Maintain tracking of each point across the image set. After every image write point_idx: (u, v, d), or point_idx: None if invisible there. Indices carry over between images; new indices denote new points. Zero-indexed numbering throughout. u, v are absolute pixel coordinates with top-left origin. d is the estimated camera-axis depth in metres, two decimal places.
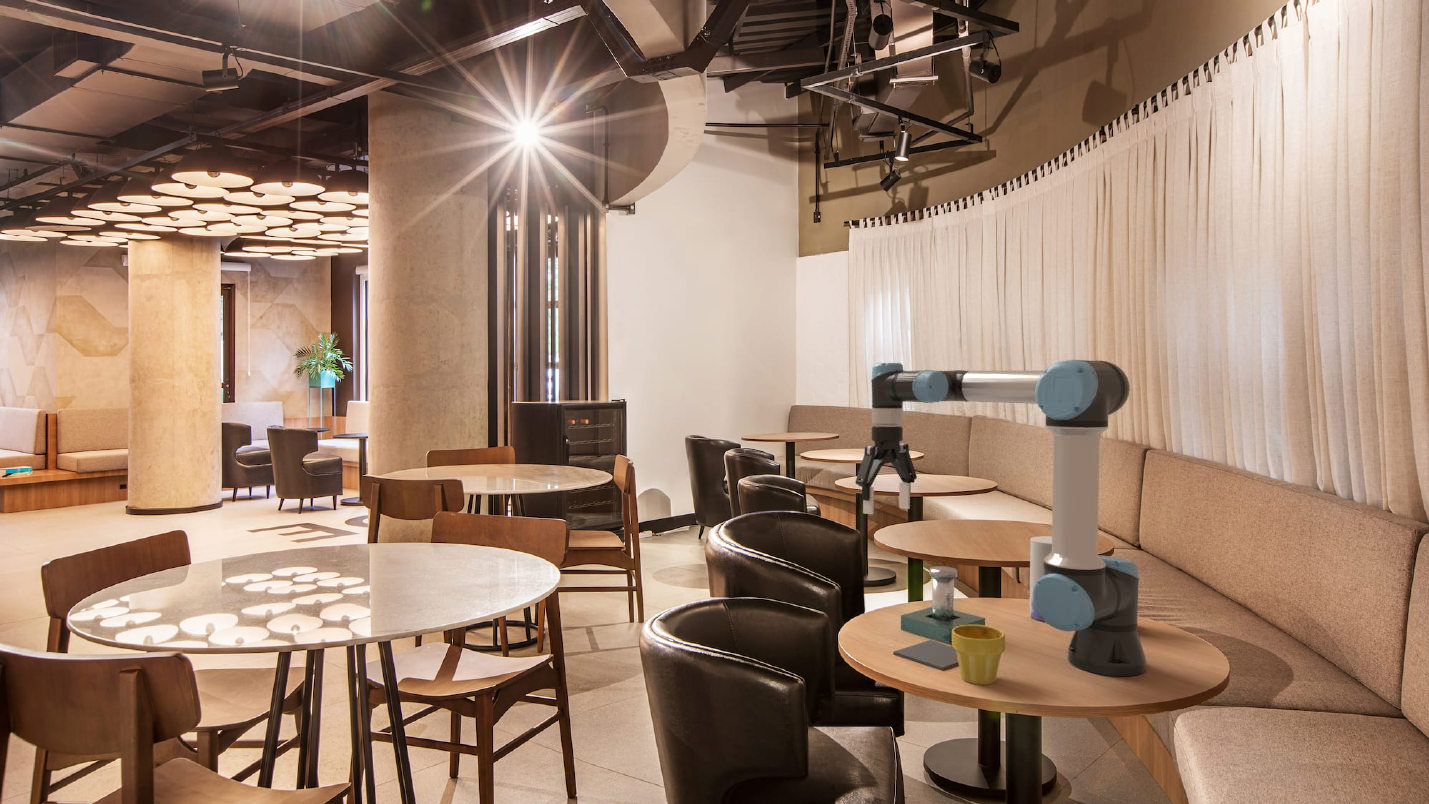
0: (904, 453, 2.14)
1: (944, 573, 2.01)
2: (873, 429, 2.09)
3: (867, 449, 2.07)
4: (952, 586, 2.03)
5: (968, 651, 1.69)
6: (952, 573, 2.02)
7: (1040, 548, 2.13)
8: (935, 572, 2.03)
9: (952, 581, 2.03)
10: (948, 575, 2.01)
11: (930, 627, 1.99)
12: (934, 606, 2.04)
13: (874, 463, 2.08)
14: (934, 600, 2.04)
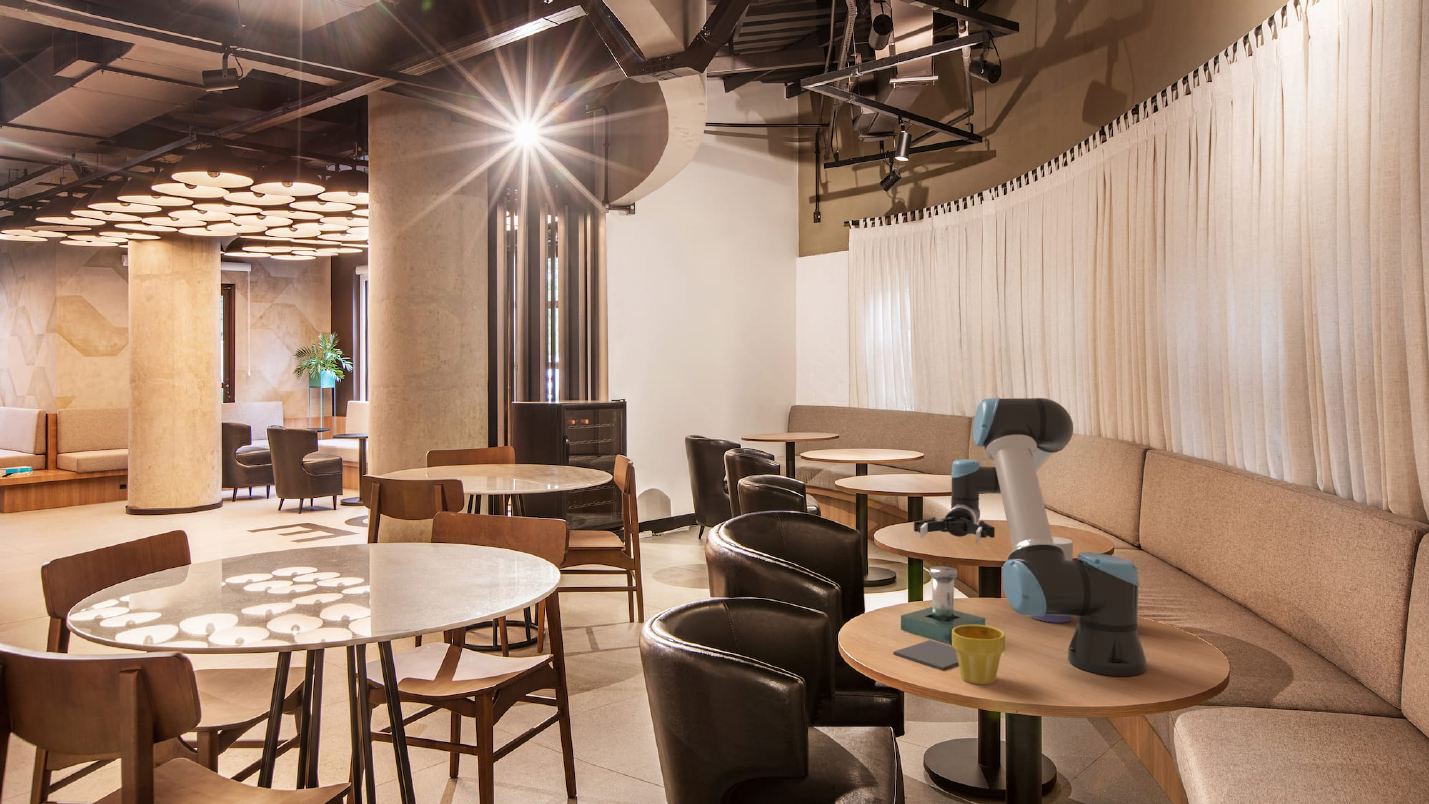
0: (979, 524, 2.24)
1: (944, 573, 2.01)
2: None
3: None
4: (952, 586, 2.03)
5: (968, 651, 1.69)
6: (952, 573, 2.02)
7: None
8: (935, 572, 2.03)
9: (952, 581, 2.03)
10: (948, 575, 2.01)
11: (930, 627, 1.99)
12: (934, 606, 2.04)
13: None
14: (934, 600, 2.04)
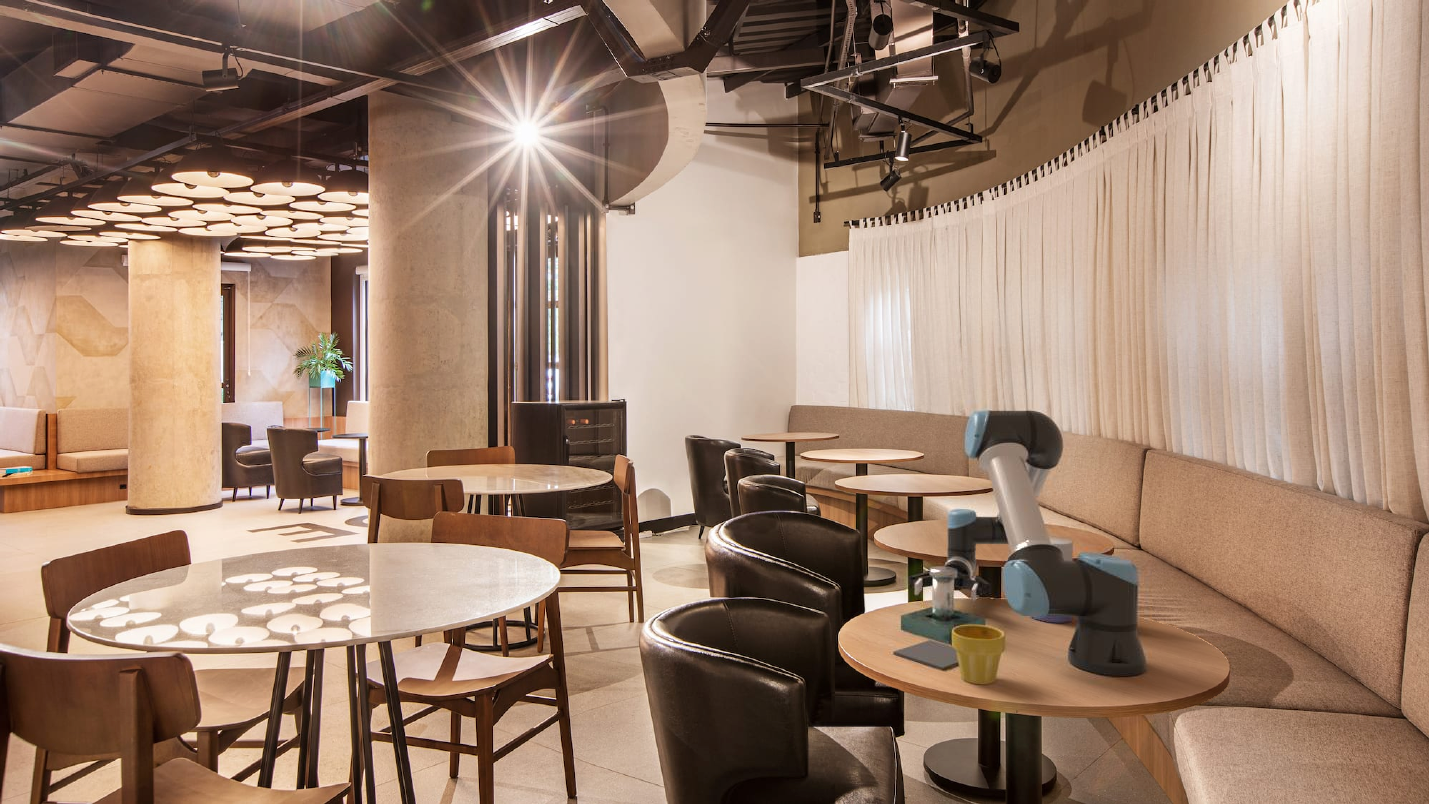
0: (975, 579, 2.19)
1: (944, 573, 2.01)
2: None
3: None
4: (952, 586, 2.03)
5: (968, 651, 1.69)
6: (952, 573, 2.02)
7: None
8: (935, 572, 2.03)
9: (952, 581, 2.03)
10: (948, 575, 2.01)
11: (930, 627, 1.99)
12: (934, 606, 2.04)
13: None
14: (934, 600, 2.04)
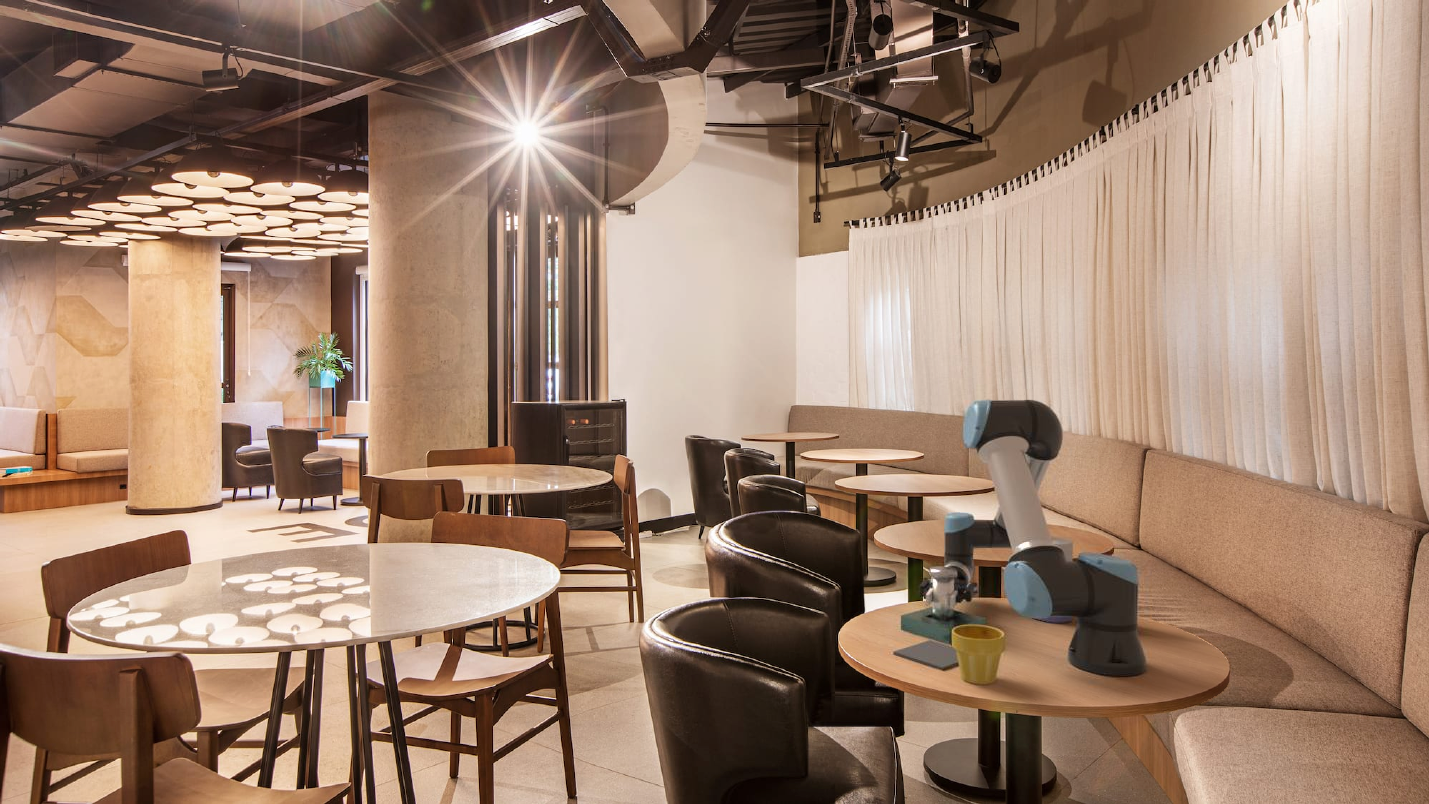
0: None
1: (944, 573, 2.01)
2: None
3: None
4: (952, 586, 2.03)
5: (968, 651, 1.69)
6: (952, 573, 2.02)
7: None
8: (935, 572, 2.02)
9: (952, 581, 2.03)
10: (948, 575, 2.01)
11: (930, 627, 1.99)
12: (934, 606, 2.04)
13: None
14: (934, 599, 2.04)
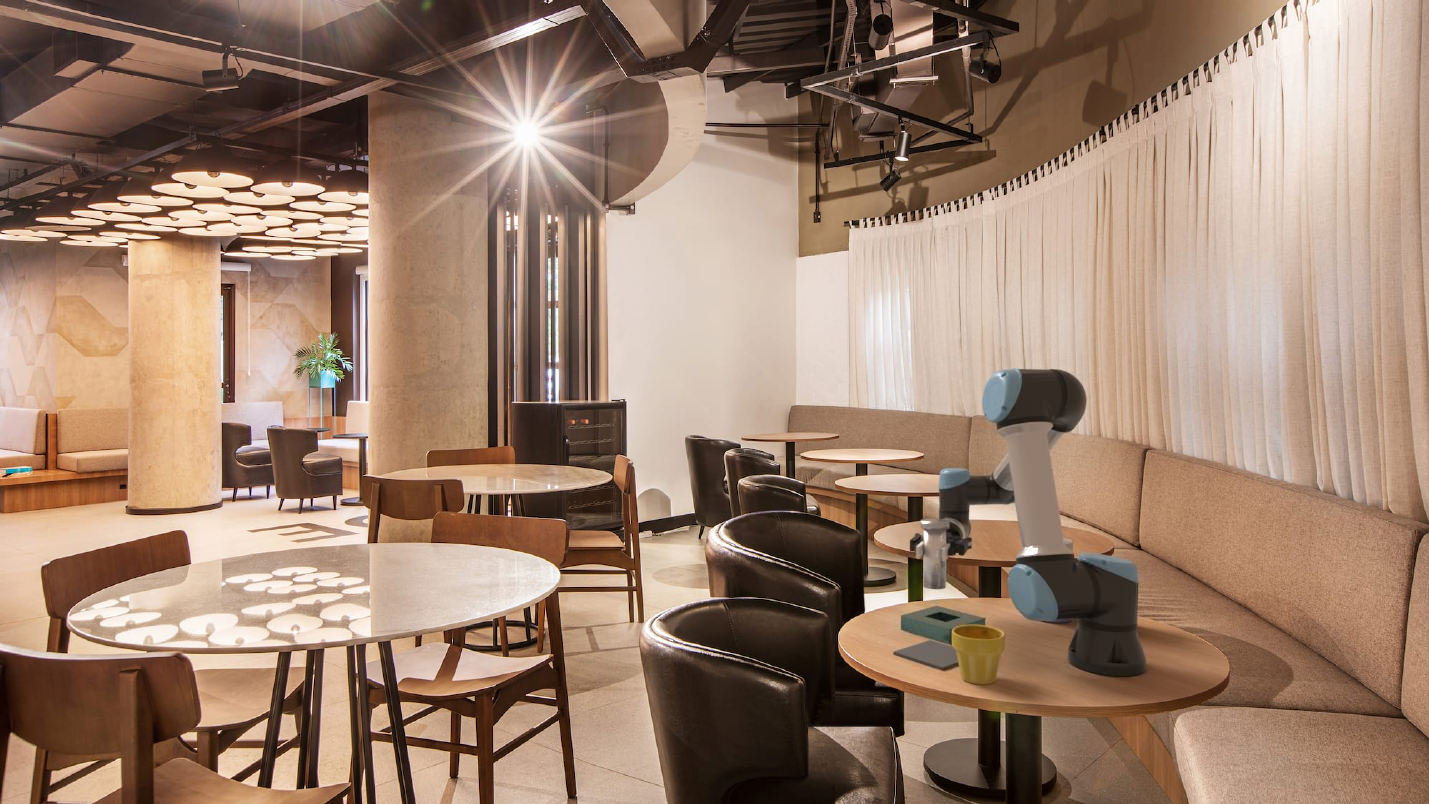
0: None
1: (935, 524, 1.91)
2: None
3: None
4: (944, 538, 1.92)
5: (968, 651, 1.69)
6: (944, 524, 1.91)
7: None
8: (926, 523, 1.92)
9: (944, 533, 1.92)
10: (940, 526, 1.91)
11: (930, 627, 1.99)
12: (925, 560, 1.93)
13: None
14: (925, 553, 1.93)
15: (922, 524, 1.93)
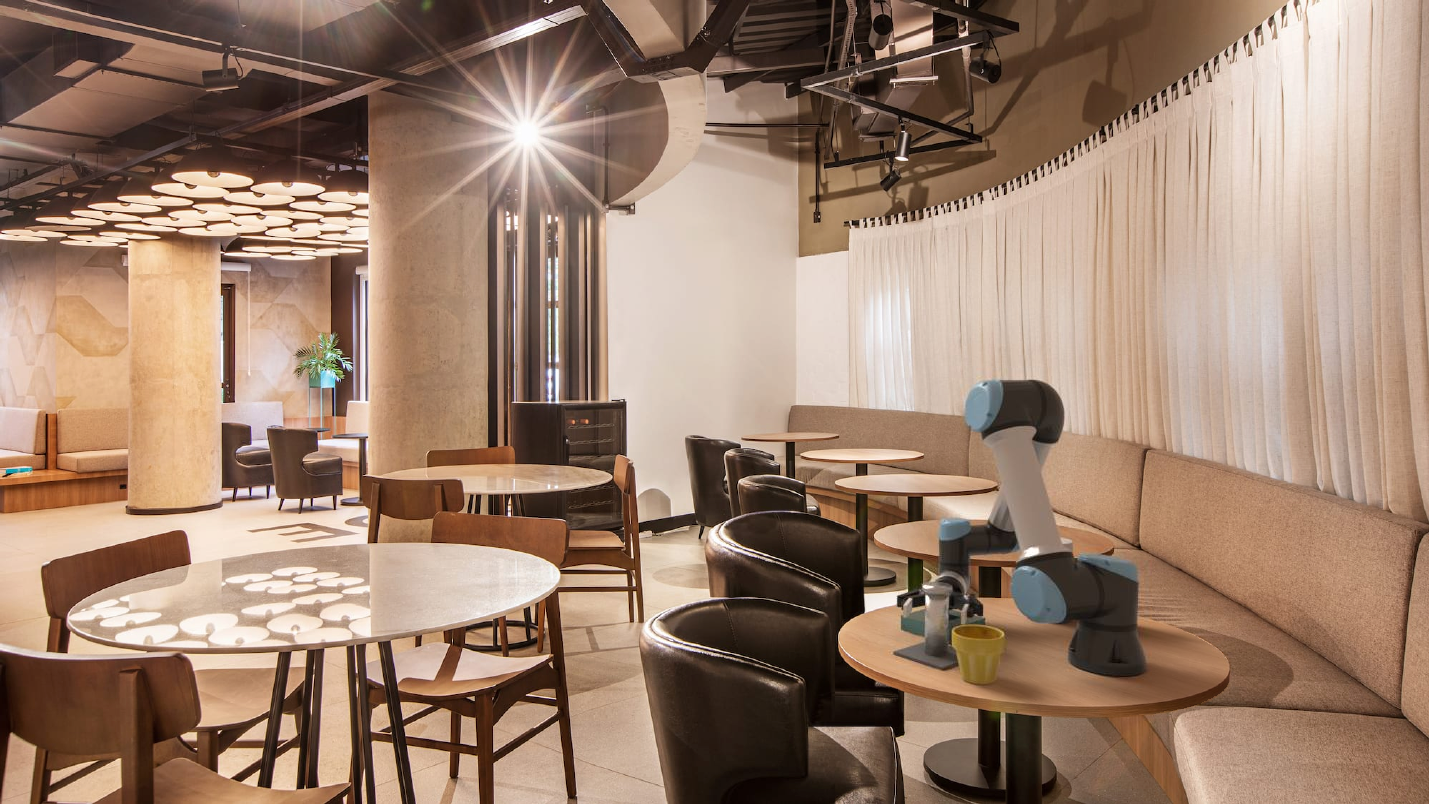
0: (969, 598, 1.94)
1: (938, 590, 1.84)
2: None
3: None
4: (947, 604, 1.85)
5: (968, 651, 1.69)
6: (947, 590, 1.84)
7: None
8: (928, 589, 1.85)
9: (947, 598, 1.85)
10: (943, 592, 1.84)
11: None
12: (927, 626, 1.86)
13: None
14: (927, 619, 1.86)
15: (924, 589, 1.86)
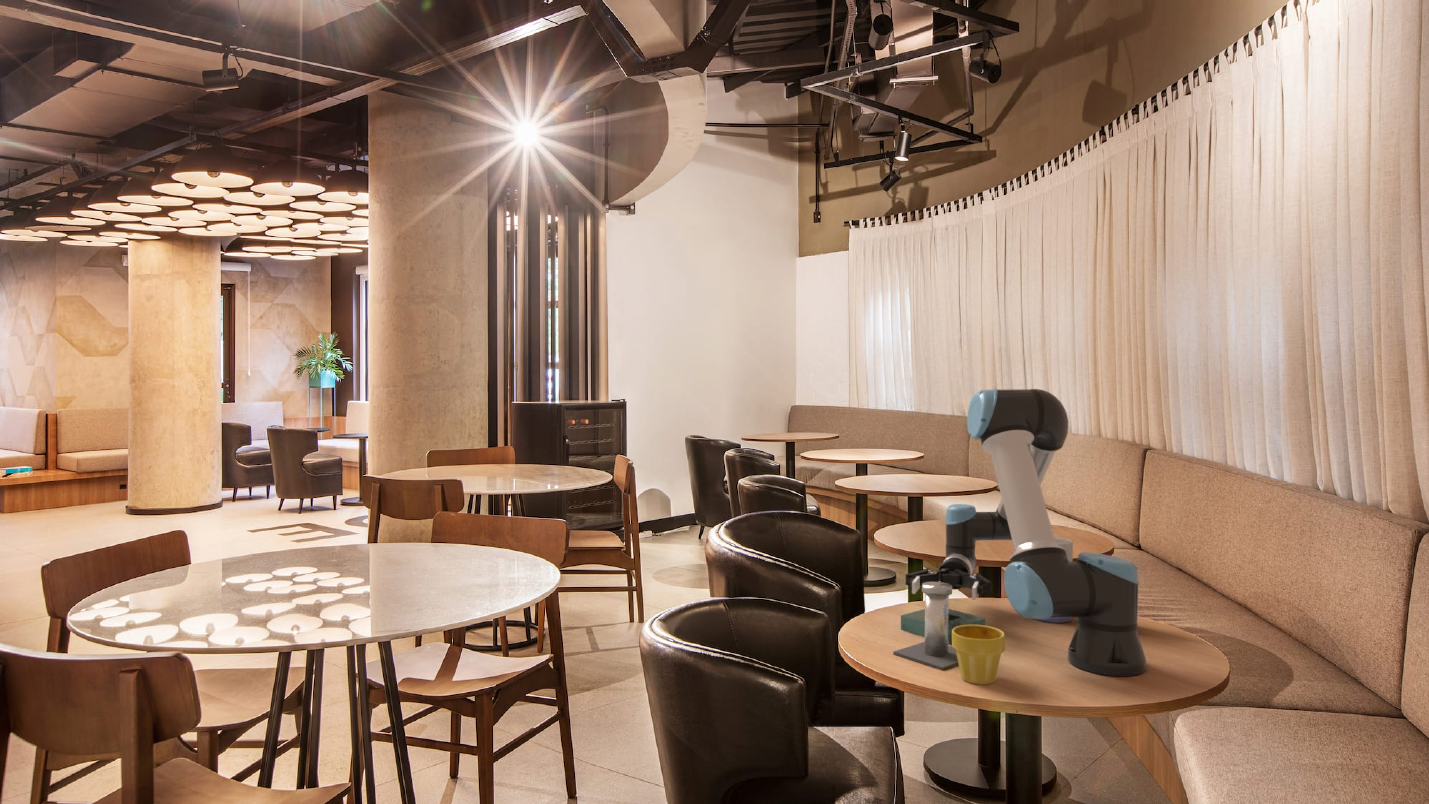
0: (976, 577, 2.08)
1: (938, 589, 1.84)
2: None
3: None
4: (947, 604, 1.85)
5: (968, 651, 1.69)
6: (947, 589, 1.84)
7: None
8: (928, 588, 1.85)
9: (947, 598, 1.85)
10: (942, 591, 1.84)
11: None
12: (927, 625, 1.86)
13: None
14: (927, 618, 1.86)
15: (924, 588, 1.86)
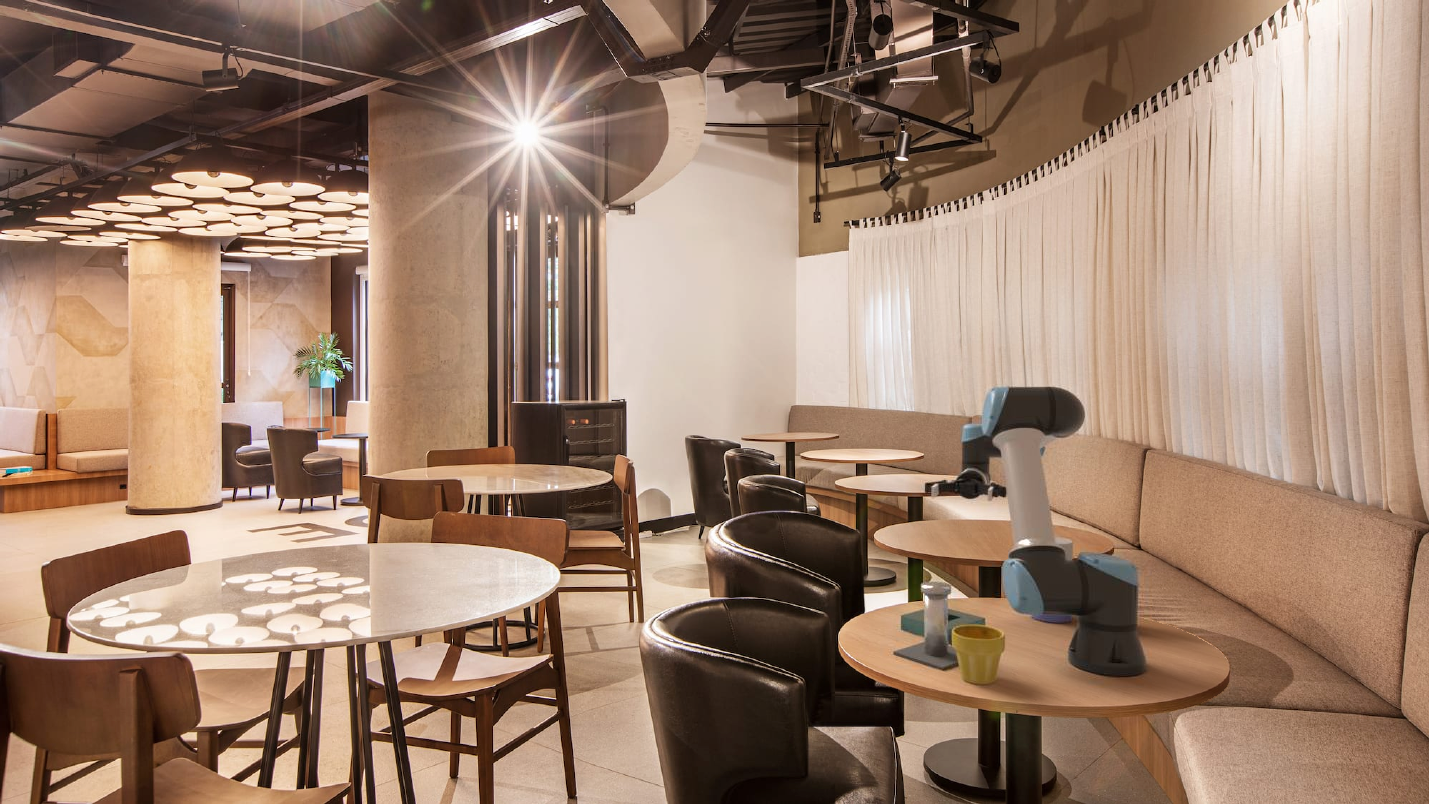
0: (991, 485, 2.23)
1: (937, 589, 1.84)
2: None
3: None
4: (946, 603, 1.85)
5: (968, 651, 1.69)
6: (946, 589, 1.84)
7: None
8: (927, 588, 1.85)
9: (946, 598, 1.85)
10: (942, 591, 1.84)
11: None
12: (926, 626, 1.86)
13: None
14: (927, 618, 1.86)
15: (923, 589, 1.86)
